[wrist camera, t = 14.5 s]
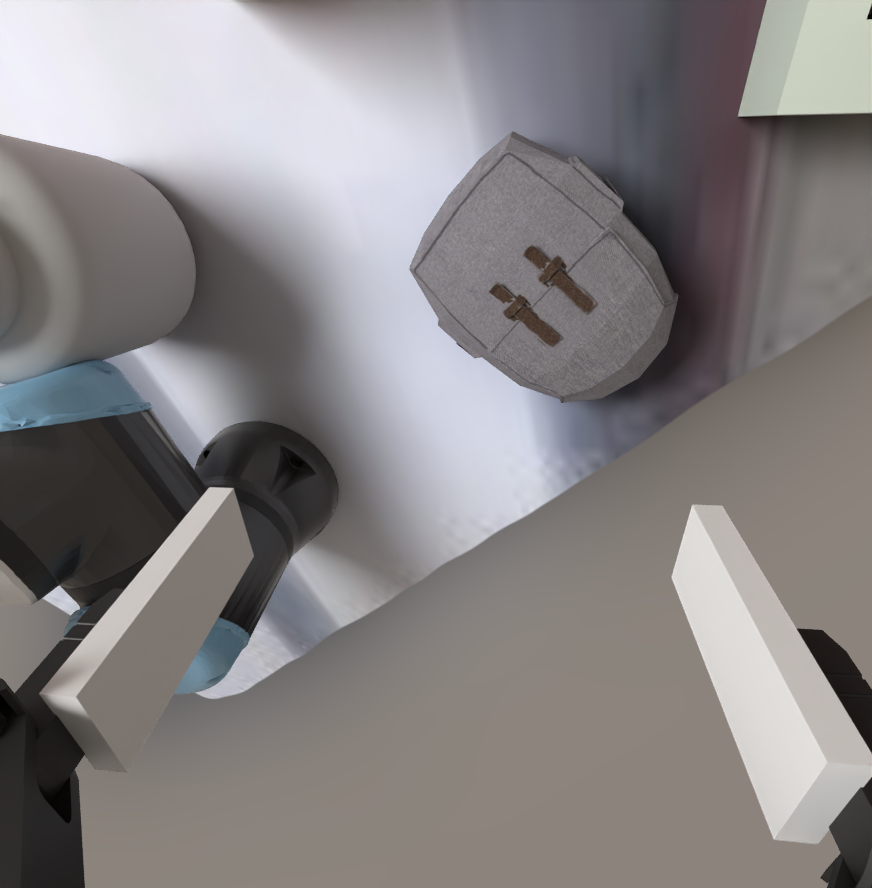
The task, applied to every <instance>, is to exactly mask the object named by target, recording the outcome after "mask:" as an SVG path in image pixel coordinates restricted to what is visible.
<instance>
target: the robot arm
mask: <svg viewBox="0 0 872 888" xmlns="http://www.w3.org/2000/svg"><path fill="white" fill-rule="evenodd" d="M151 409H152V406H151V404H150V403H149V402H145V401H144V399H143V398H142V397H141V396H140V394H139V393H138V392H137V391H136V390H135V388H134V387H133V386H132V385H131V383H130V382H129V381H128V380H127V378H126V377H125V376H124V375H123V373H122V372H121V371H120V370H119V369H118V368H117V367H115V366H114V365H112V364H110V363H108V362H105V361H101V360H88V361H84V362H80V363H77V364H74V365H71V366H68V367H65V368H62V369H59V370H56V371H53V372H50V373H47V374H44V375H41V376H38V377H34V378H31V379H28V380H25V381H21V382H18V383H15V384H6V385H3V386H0V606H20V605H32V604H34V603H36V602H37V601H39V600H40V599H41V598H43V597H44V596H45V595H47V594H48V593H49V592H51V591H52V590H53V589H55V588H56V587H57V586H59V585H60V586H61V587H62V588H63V589H64V590H65V591H66V592H67V593H68V594H69V595H70V596H71V597H72V598H73V599H74V600H75V601H76V602H77V604H78V605H79V606H80V610H77V611H75V612H74V613H73V614H72V615H71V616H70V618H69V623H68V624H67V626H66V628H65V631H64V639H63V641H60V642H59V643H58V644H57V645H56V646H55V647H54V649H53V650H52V651H51V652H50V653H49V654H48V656H47V657H46V658H45V659H44V660H43V661H42V663H41V664H40V665H39V666H38V667H37V668H36V669H35V671H34V672H33V673H32V674H31V675H30V676H29V677H28V679H27V680H26V681H25V682H24V683H23V684H22V686H21V687H20V688H19V689H18V690H17V691H16V692H15V693H14V692H13V691H12V690H11V689H10V687H9V686H8V685H7V683H6V682H5V681H4V680H3V679H1V678H0V888H85V883H84V865H83V848H82V831H81V813H80V796H79V780H78V777H77V774H76V771H75V768H76V767H77V765H78V763H79V762H80V761H81V759H82V758H83V756H84V755H85V756H86V758H87V759H88V760H89V762H90V763H91V764H92V766H93V767H94V768H95V769H98V770H108V771H117V772H128V771H129V769H130V767H131V766H132V764H133V762H134V761H135V759H136V757H137V756H138V754H139V752H140V750H141V748H142V747H143V745H144V743H145V741H146V740H147V738H148V737H149V735H150V733H151V732H152V730H153V728H154V726H155V725H156V723H157V721H158V720H159V718H160V716H161V714H162V713H163V711H164V709H165V708H166V706H167V704H168V702H169V701H170V699H171V697H172V695H173V694H187V693H194V692H199V691H203V690H205V689H208V688H210V687H212V686H214V685H216V684H217V683H218V682H220V681H221V680H222V679H223V678H224V677H225V676H226V675H227V673H228V672H229V670H230V669H231V667H232V665H233V664H234V662H235V660H236V659H237V657H238V656H239V654H240V652H241V651H242V649H244V648H245V647H246V646H247V645H248V642H249V639H250V637H251V635H252V633H253V631H254V629H255V627H256V625H257V623H258V621H259V619H260V617H261V615H262V613H263V611H264V609H265V607H266V605H267V604H268V602H269V600H270V598H271V596H272V594H273V592H274V590H275V588H276V586H277V584H278V582H279V580H280V578H281V576H282V574H283V572H284V570H285V568H286V566H287V564H288V562H289V560H290V559H291V557H292V556H293V555H294V554H295V553H296V552H297V551H299V550H300V549H301V548H302V547H303V546H304V545H305V544H306V543H308V542H309V541H310V540H312V539H313V538H314V537H315V536H317V535H318V534H319V533H320V532H321V531H322V530H323V529H324V528H325V527H326V525H327V524H328V522H329V520H330V518H331V516H332V514H333V512H334V510H335V507H336V505H337V501H338V485H337V481H336V477H335V475H334V472H333V470H332V468H331V466H330V464H329V463H328V461H327V460H326V459H325V457H324V456H323V455H322V454H321V452H320V451H319V450H318V449H317V448H316V447H315V446H313V445H312V444H311V443H310V442H309V441H307V440H306V439H305V438H303V437H301V436H300V435H298V434H296V433H295V432H293V431H291V430H288V429H286V428H284V427H281V426H278V425H274V424H270V423H264V422H243V423H238V424H234V425H232V426H229V427H227V428H225V429H224V430H222V431H221V432H219V433H218V434H217V435H216V436H215V437H214V438H213V439H212V440H211V441H210V442H209V443H208V444H207V445H206V447H205V448H204V449H203V451H202V452H201V454H200V456H199V458H198V461H197V464H196V467H195V469H193V468H192V467H191V465H190V464H189V462H188V461H187V460H186V458H185V457H184V455H183V454H182V453H181V451H180V450H179V449H178V447H177V446H176V444H175V443H174V441H173V440H172V439H171V437H170V436H169V434H168V433H167V431H166V430H165V428H164V427H163V426H162V424H161V423H160V421H159V420H158V418H157V417H156V415H155V414H154V412H153V411H152V410H151ZM672 580H673V583H674V585H675V588H676V590H677V593H678V595H679V598H680V601H681V603H682V606H683V608H684V611H685V613H686V616H687V618H688V621H689V624H690V626H691V629H692V631H693V634H694V636H695V639H696V642H697V644H698V646H699V649H700V652H701V654H702V657H703V660H704V662H705V665H706V667H707V670H708V672H709V675H710V677H711V680H712V683H713V685H714V688H715V690H716V693H717V695H718V698H719V701H720V703H721V706H722V708H723V711H724V713H725V716H726V718H727V721H728V723H729V726H730V728H731V731H732V734H733V736H734V739H735V741H736V744H737V746H738V749H739V752H740V754H741V757H742V759H743V762H744V764H745V767H746V770H747V772H748V775H749V777H750V780H751V782H752V785H753V787H754V790H755V793H756V795H757V797H758V800H759V803H760V805H761V808H762V811H763V813H764V816H765V818H766V821H767V823H768V826H769V828H770V831H771V834H772V836H773V839H774V840H782V841H791V842H801V843H810V844H818V843H819V842H820V840H821V839H822V838H823V837H824V836H825V835H826V833H827V832H828V831H829V830H830V831H831V833H832V835H833V837H834V839H835V842H836V844H837V846H838V848H839V850H840V852H841V853H840V855H839V856H838V857H837V858H836V859H835V860H834V861H833V863H832V864H831V865H830V866H829V867H828V869H826V871H825V872H824V874H823V875H822V876H821V879H823V880H824V881H825V882H826V883H828V882H829V883H828V886H827V888H872V689H871V688H870V686H869V685H868V683H867V682H866V680H863V679H862V674H861V673H860V671H859V670H858V668H857V667H856V665H855V664H854V662H853V661H852V660H851V658H850V656H849V655H848V653H847V652H846V651H845V650H844V649H843V648H842V647H841V646H840V645H838V644H837V643H836V642H835V641H834V640H833V639H832V638H830V637H829V636H828V635H827V634H826V633H825V632H824V631H822V630H813V629H796V627H795V626H794V624H793V622H792V621H791V619H790V617H789V616H788V614H787V613H786V611H785V609H784V607H783V606H782V604H781V602H780V601H779V599H778V598H777V596H776V594H775V592H774V591H773V589H772V587H771V586H770V584H769V583H768V581H767V579H766V578H765V576H764V574H763V573H762V571H761V569H760V568H759V566H758V564H757V563H756V561H755V560H754V558H753V556H752V554H751V553H750V551H749V550H748V548H747V546H746V544H745V543H744V541H743V540H742V538H741V536H740V535H739V533H738V531H737V530H736V528H735V526H734V525H733V523H732V522H731V520H730V518H729V516H728V515H727V513H726V511H725V510H724V508H723V506H716V505H692V508H691V511H690V515H689V518H688V522H687V525H686V529H685V532H684V536H683V539H682V543H681V546H680V550H679V553H678V557H677V560H676V563H675V567H674V570H673V574H672Z"/></svg>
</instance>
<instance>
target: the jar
mask: <svg viewBox="0 0 872 888" xmlns="http://www.w3.org/2000/svg"><path fill="white" fill-rule="evenodd" d="M195 282H196V269H195V258H194V254H193V250H192V245H191V241H190V239H189V237H188V234H187V232H186V230H185V227H184V225H183V223H182V221H181V219H180V218H179V216H178V215H177V213H176V212H175V210H174V208H173V207H172V205H171V204H170V203H169V202H168V201H167V200H166V198H165V197H164V196H163V195H162V194H161V193H160V192H159V190H158V189H156V188H155V187H154V186H153V185H152V184H150V183H149V182H148V181H147V180H146V179H144V178H143V177H142V176H140V175H139V174H137V173H135V172H133V171H132V170H130V169H128V168H126V167H125V166H122V165H120V164H118V163H115V162H112V161H109V160H106V159H104V158H101V157H98V156H93V155H89V154H85V153H80V152H76V151H71V150H67V149H63V148H58V147H54V146H49V145H45V144H41V143H36V142H32V141H27V140H23V139H19V138H14V137H10V136H5V135H1V134H0V383H3V384H15V383H18V382H21V381H25V380H28V379H31V378H34V377H38V376H41V375H44V374H47V373H50V372H53V371H56V370H59V369H62V368H65V367H68V366H71V365H74V364H77V363H80V362H84V361H88V360H101V361H102V360H105V359H108V358H111V357H114V356H117V355H120V354H122V353H125V352H128V351H131V350H134V349H137V348H140V347H143V346H146V345H149V344H152V343H153V342H155V341H157V340H159V339H160V338H162V337H164V336H166V335H167V334H169V333H170V332H171V331H172V330H173V329H174V328H175V327H176V326H177V325H178V324H180V322H181V321H182V319H183V318H184V316H185V315H186V313H187V311H188V310H189V307H190V304H191V301H192V299H193V296H194V290H195Z"/></svg>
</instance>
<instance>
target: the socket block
mask: <svg viewBox="0 0 872 888" xmlns="http://www.w3.org/2000/svg"><path fill="white" fill-rule="evenodd" d="M871 5H872V0H767V2H766V6H765V10H764V14H763V18H762V22H761V26H760V30H759V34H758V38H757V42H756V46H755V50H754V54H753V58H752V62H751V66H750V70H749V74H748V78H747V82H746V86H745V90H744V94H743V98H742V102H741V106H740V110H739V114H738V117H742V116H787V115H831V114H872V19H870V20H866V19H867V16H868V13H869V10H870V8H871Z"/></svg>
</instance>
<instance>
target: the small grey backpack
mask: <svg viewBox="0 0 872 888" xmlns="http://www.w3.org/2000/svg"><path fill="white" fill-rule="evenodd" d="M604 175H605V174H604ZM605 178H606V180H607V182H608V183H609V184H610V185H611V186H610V185H608V184H607V183H606V182H605V181H604V180H603V179H602V178H601V177H600V176H599V175H597V174H596V173H595V172H594V171H593V170H592V169H591V168H590V167H589V166H588V165H587V164H585V163H584V162H583V161H582V160H581V159H580V158H579V157H578V156H577V155H574V156H572V157H569V158H566V157H564V156H561V155H559V154H557V153H555V152H553V151H551V150H549V149H547V148H545V147H543V146H541V145H539V144H537V143H535V142H533V141H531V140H529V139H527V138H525V137H523V136H521V135H519V134H517V133H515V132H513V131H512V132H511V133H510V134H509V135H507V136H506V137H505V138H504V139H503V140H502V141H500V142H499V143H498V144H497V145H496V146H494V147H493V148H492V149H491V150H490V151H489V152H487V153H486V154H485V155H484V156H483V157H482V158H480V159H479V160H478V162H477V163H476V164H475V165H474V166H473V168H472V169H471V170H470V171H469V172H468V173H467V175H466V176H465V177H464V178H463V179H462V181H461V182H460V183H459V184H458V185H457V186H456V188H455V189H454V190H453V191H452V192H451V194H450V195H449V196H448V197H447V199H446V201H445V202H444V204H443V205H442V207H441V208H440V210H439V211H438V213H437V214H436V216H435V218H434V219H433V221H432V222H431V224H430V225H429V227H428V228H427V230H426V231H425V233H424V235H423V237H422V240H421V242H420V244H419V247H418V249H417V251H416V254H415V256H414V258H413V260H412V263H411V265H410V271H411V273H412V274H413V276H414V278H415V280H416V281H417V283H418V285H419V286H420V288H421V290H422V291H423V293H424V295H425V296H426V298H427V300H428V301H429V303H430V305H431V307H432V308H433V310H434V312H435V313H436V315H437V317H438V318H439V321H438V326H439V327H441V328H442V329H443V330H444V331H445V332H446V333H447V334H448V335H449V336H451V337H452V338H453V339H454V340H455V341H456V342H457V344H458V345H459V346H460V347H461V348H463V349H464V350H465V351H466V352H468V353H469V354H470V355H471V356H473V357H474V358H479V357H483V358H484V359H485V360H487V361H488V362H489V363H491V364H492V365H493V366H495V367H496V368H497V369H499V370H500V371H501V372H503V373H504V374H505V375H507V376H508V377H509V378H511V379H512V380H513V381H515V382H516V383H517V384H519V385H520V386H523V387H526V388H529V389H532V390H535V391H538V392H541V393H543V394H546V395H549V396H552V397H555V398H558V399H560V401H561V403H564V402H573V401H583V400H592V399H601V398H603V397H605V396H607V395H609V394H611V393H612V392H614V391H616V390H618V389H620V388H622V387H623V386H625V385H627V384H629V383H631V382H632V381H634V380H636V379H638V378H639V377H640V376H641V375H642V374H643V372H644V371H645V370H646V369H647V367H648V366H649V365H650V364H651V363H652V361H653V360H654V359H655V358H656V357H657V355H658V354H659V353H660V352H661V350H662V349H663V348H664V347H665V346H666V344H667V342H668V339H669V334H670V330H671V326H672V322H673V317H674V313H675V309H676V305H677V300H678V295H679V294H677V293H675V292H673V290H672V287H671V285H670V283H669V280H668V278H667V276H666V273H665V271H664V268H663V266H662V264H661V261H660V259H659V257H658V254H657V252H656V249H655V248H654V247H653V246H652V244H651V243H650V242H649V241H648V240H647V239H646V238H645V237H644V235H643V234H642V233H641V232H640V231H639V230H638V229H637V228H636V226H635V225H634V224H633V223H632V222H631V221H630V220H629V219H628V217H627V216H626V215H625V214H624V213H623V212H622V208H623V204H624V202H623V200H622V198H621V197H620V195H619V194H618V192H617V191H616V189H615V188H614V186H613V185H612V184H611V182H610V181H609V179H608V178H607V177H606V176H605Z"/></svg>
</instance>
